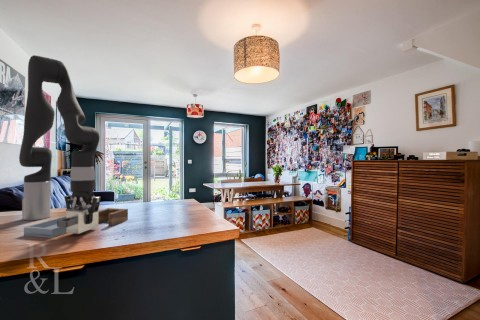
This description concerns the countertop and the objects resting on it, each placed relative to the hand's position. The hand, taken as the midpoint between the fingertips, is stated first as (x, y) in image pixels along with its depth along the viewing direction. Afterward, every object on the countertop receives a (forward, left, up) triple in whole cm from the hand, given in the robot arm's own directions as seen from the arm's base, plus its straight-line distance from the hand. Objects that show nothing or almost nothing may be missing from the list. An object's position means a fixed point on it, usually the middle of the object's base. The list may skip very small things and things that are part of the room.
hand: (82, 222), depth 83 cm
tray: (-12, +1, -4) cm, 12 cm away
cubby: (0, +13, -4) cm, 14 cm away
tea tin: (0, -2, -2) cm, 3 cm away
